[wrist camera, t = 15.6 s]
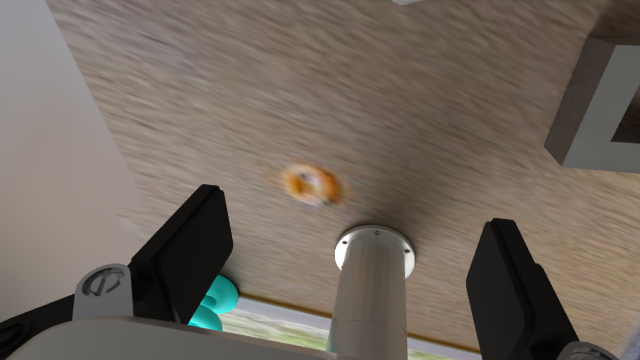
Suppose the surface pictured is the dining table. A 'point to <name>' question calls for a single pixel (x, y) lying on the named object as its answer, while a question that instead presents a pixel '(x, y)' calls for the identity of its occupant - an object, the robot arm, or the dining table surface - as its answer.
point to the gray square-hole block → (599, 109)
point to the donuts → (215, 304)
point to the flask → (406, 2)
